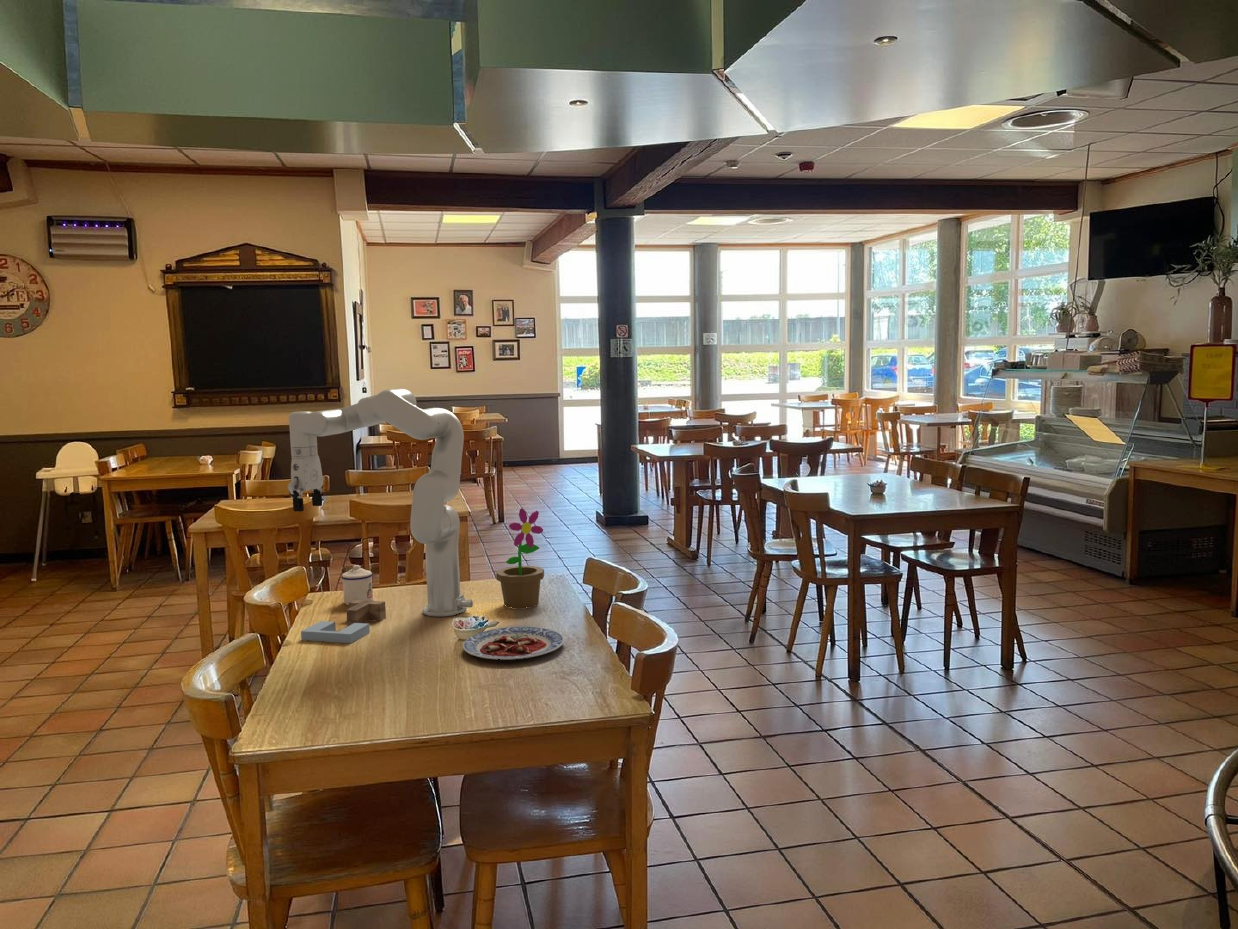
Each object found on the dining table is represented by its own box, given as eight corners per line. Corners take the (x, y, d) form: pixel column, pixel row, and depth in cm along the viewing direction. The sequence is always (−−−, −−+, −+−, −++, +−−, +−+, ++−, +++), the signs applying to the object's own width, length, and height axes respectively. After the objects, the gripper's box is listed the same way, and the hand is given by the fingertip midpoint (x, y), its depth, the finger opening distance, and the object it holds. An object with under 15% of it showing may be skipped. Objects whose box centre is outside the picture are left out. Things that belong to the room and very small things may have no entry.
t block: (386, 618, 261) (385, 601, 261) (368, 628, 252) (367, 611, 251) (355, 616, 264) (354, 600, 263) (336, 626, 254) (335, 609, 254)
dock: (369, 632, 248) (369, 623, 247) (351, 643, 238) (350, 634, 238) (321, 629, 251) (320, 621, 251) (301, 640, 242) (300, 631, 242)
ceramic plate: (540, 671, 214) (539, 659, 214) (444, 661, 223) (443, 650, 222) (579, 638, 239) (579, 627, 238) (491, 631, 247) (491, 620, 247)
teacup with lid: (374, 604, 276) (372, 567, 275) (343, 607, 274) (341, 570, 272) (372, 595, 288) (370, 559, 286) (342, 598, 285) (340, 561, 284)
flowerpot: (516, 613, 262) (512, 512, 259) (488, 604, 273) (484, 506, 269) (554, 603, 272) (551, 505, 268) (526, 595, 282) (522, 500, 279)
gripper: (298, 455, 263) (302, 513, 265) (331, 449, 279) (334, 504, 281) (275, 455, 264) (280, 513, 267) (310, 449, 281) (313, 503, 283)
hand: (308, 508), depth 274 cm, fingers open, 9 cm apart
